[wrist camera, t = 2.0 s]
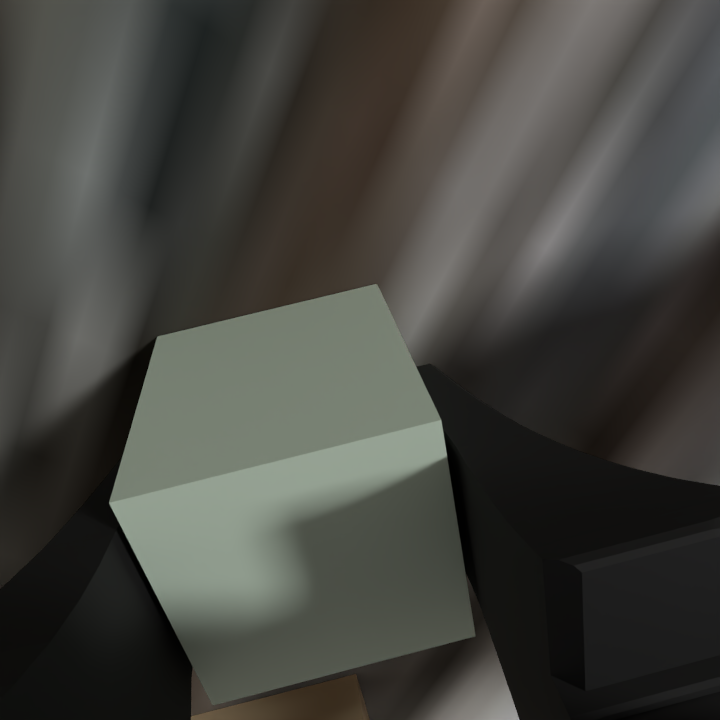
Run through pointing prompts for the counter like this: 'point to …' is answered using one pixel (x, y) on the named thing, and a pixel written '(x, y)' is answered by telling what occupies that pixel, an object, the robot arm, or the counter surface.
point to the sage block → (293, 496)
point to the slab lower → (301, 704)
